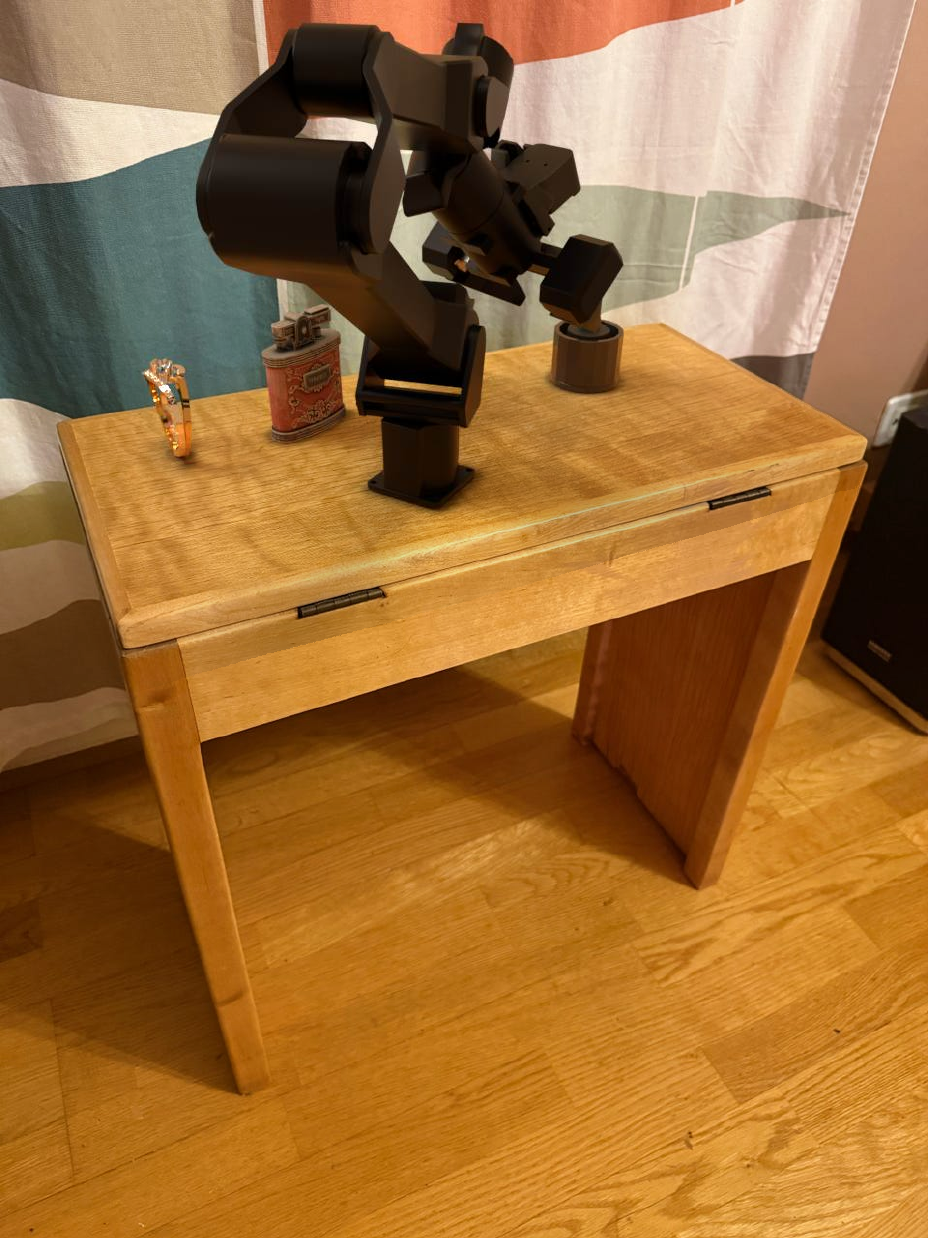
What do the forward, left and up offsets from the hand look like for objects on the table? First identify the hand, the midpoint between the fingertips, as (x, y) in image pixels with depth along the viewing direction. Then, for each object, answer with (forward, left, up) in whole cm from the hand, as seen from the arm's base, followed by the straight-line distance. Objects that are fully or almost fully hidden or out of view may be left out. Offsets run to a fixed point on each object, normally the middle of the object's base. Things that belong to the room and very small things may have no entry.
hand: (558, 314), depth 83 cm
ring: (-27, +22, -8) cm, 36 cm away
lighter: (-17, +16, -8) cm, 25 cm away
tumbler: (+5, -1, -8) cm, 9 cm away
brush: (+5, -1, -7) cm, 8 cm away
